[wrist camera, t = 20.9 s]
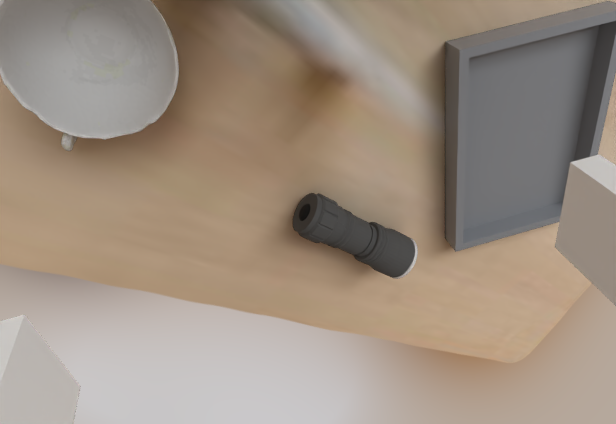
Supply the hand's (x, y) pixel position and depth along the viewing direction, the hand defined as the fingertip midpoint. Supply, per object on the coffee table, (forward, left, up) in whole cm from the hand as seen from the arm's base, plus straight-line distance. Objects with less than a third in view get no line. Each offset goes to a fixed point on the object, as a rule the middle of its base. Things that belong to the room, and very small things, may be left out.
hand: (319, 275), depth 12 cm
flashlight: (+22, +6, -30) cm, 38 cm away
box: (+22, +30, -37) cm, 52 cm away
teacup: (+2, -11, -37) cm, 39 cm away
